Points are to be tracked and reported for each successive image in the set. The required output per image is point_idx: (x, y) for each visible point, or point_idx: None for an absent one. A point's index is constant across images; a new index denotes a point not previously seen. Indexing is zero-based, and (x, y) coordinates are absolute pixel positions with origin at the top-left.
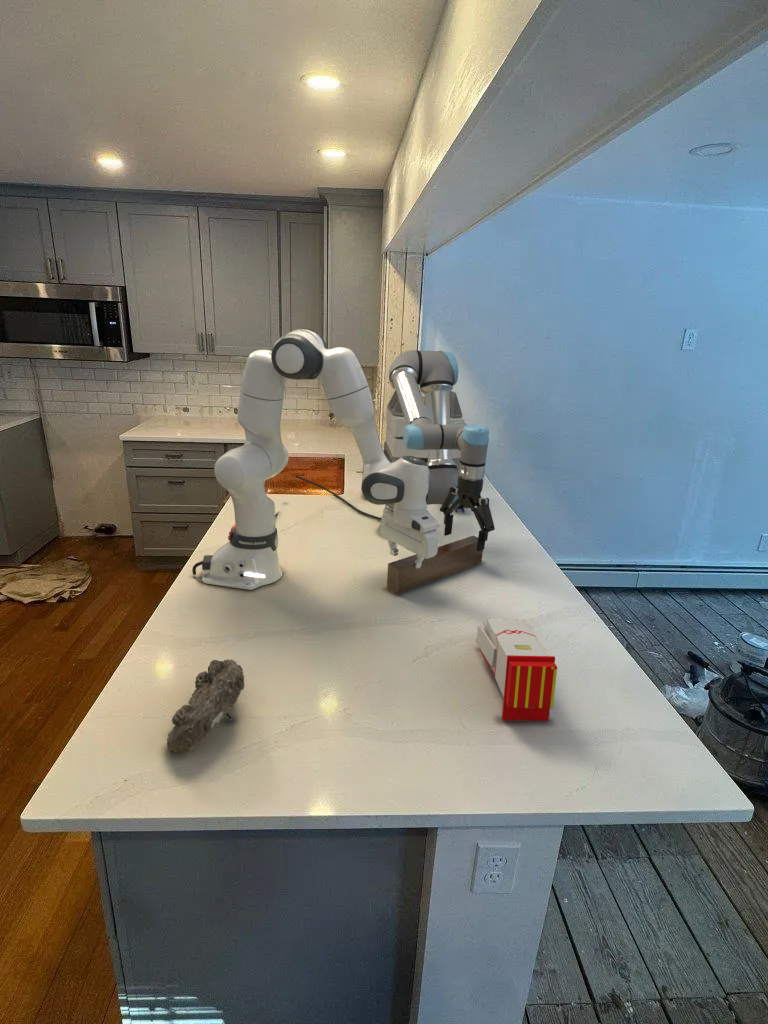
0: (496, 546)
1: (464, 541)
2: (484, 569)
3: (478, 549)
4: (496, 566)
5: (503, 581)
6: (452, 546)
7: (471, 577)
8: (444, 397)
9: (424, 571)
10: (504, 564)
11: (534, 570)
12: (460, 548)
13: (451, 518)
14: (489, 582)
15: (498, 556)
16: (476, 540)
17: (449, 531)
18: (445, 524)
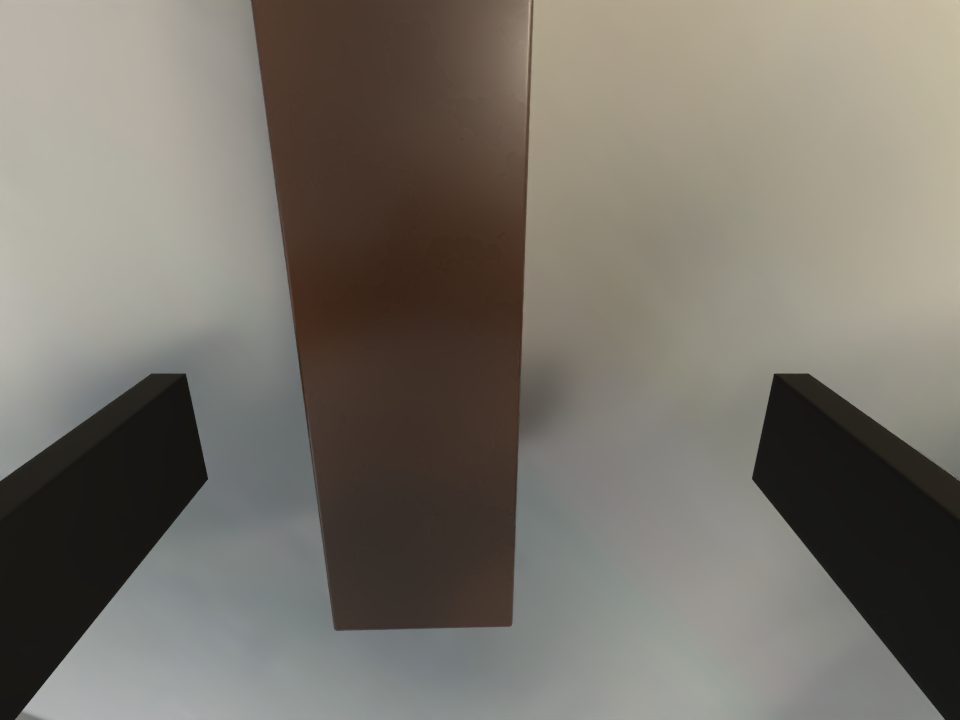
0: (519, 715)
1: (435, 412)
2: (274, 392)
3: (141, 385)
4: (271, 502)
5: (11, 348)
6: (394, 96)
7: (198, 171)
8: None
9: None
10: (268, 568)
11: (91, 646)
12: (273, 167)
13: (944, 658)
14: (38, 232)
15: None
16: (370, 554)
17: (786, 465)
18: (928, 468)
